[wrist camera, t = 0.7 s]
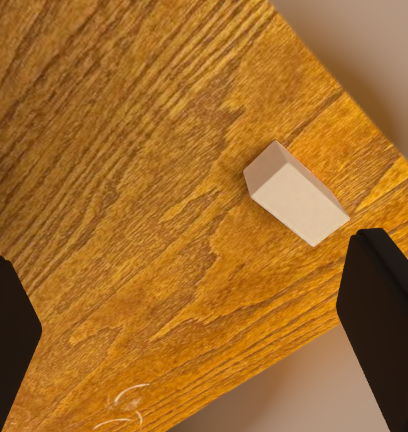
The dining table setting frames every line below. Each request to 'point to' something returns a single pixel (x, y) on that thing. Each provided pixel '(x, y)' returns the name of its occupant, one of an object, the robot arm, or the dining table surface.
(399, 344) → the robot arm
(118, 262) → the dining table surface
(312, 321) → the dining table surface
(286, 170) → the eraser
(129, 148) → the dining table surface
